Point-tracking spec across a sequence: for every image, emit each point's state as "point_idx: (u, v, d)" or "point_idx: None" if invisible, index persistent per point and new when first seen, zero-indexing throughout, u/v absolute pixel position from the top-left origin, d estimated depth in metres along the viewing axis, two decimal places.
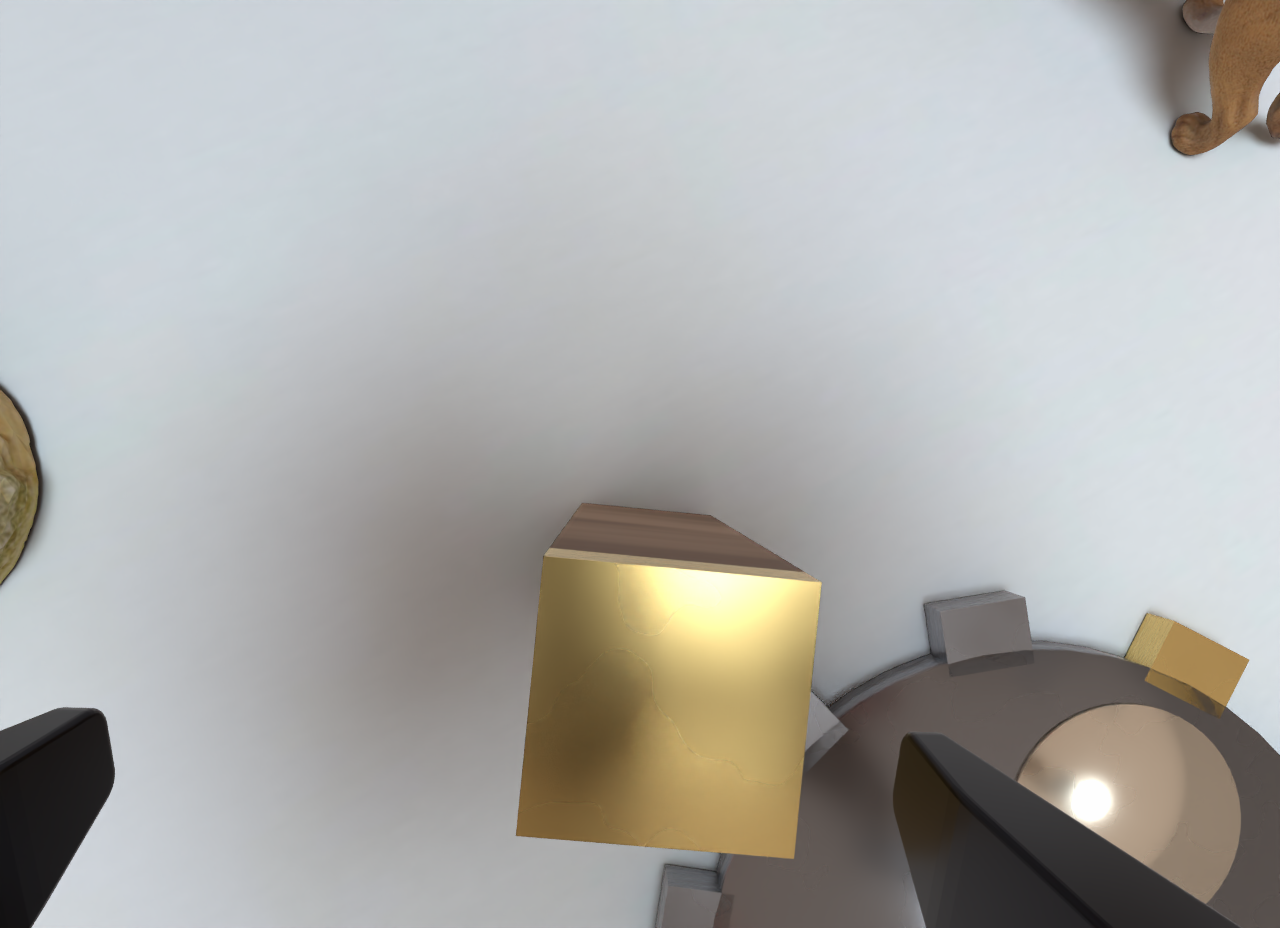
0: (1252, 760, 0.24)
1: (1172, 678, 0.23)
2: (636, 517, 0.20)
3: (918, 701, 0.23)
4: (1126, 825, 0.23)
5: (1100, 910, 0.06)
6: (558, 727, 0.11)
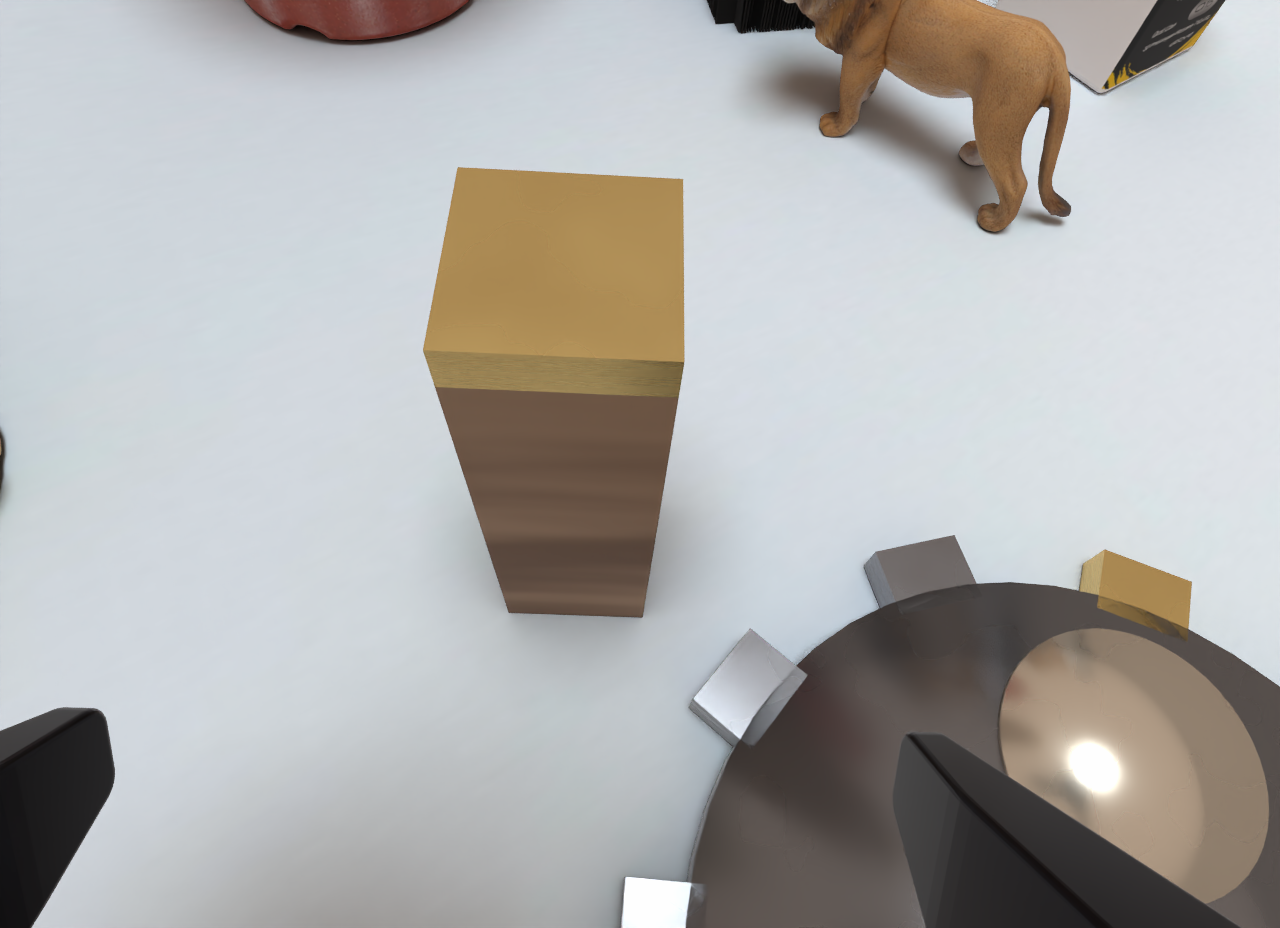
0: (1239, 683, 0.22)
1: (1124, 603, 0.23)
2: None
3: (874, 640, 0.22)
4: (1134, 760, 0.21)
5: (1099, 910, 0.06)
6: (465, 272, 0.13)
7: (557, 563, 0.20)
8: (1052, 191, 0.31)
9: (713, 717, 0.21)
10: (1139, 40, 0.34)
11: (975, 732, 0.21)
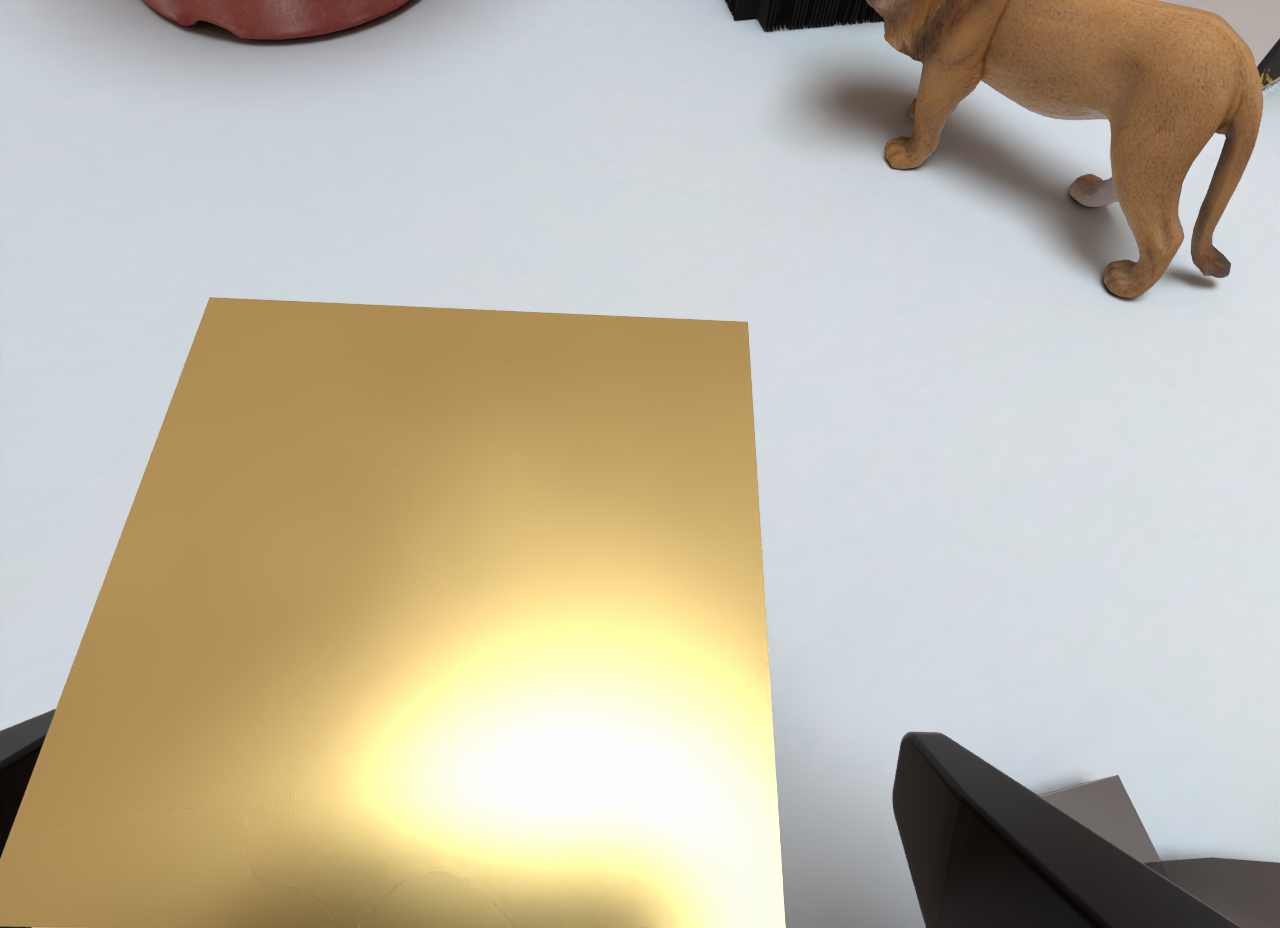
0: None
1: None
2: None
3: None
4: None
5: (1100, 910, 0.06)
6: (170, 614, 0.05)
7: None
8: (1211, 245, 0.23)
9: None
10: None
11: None
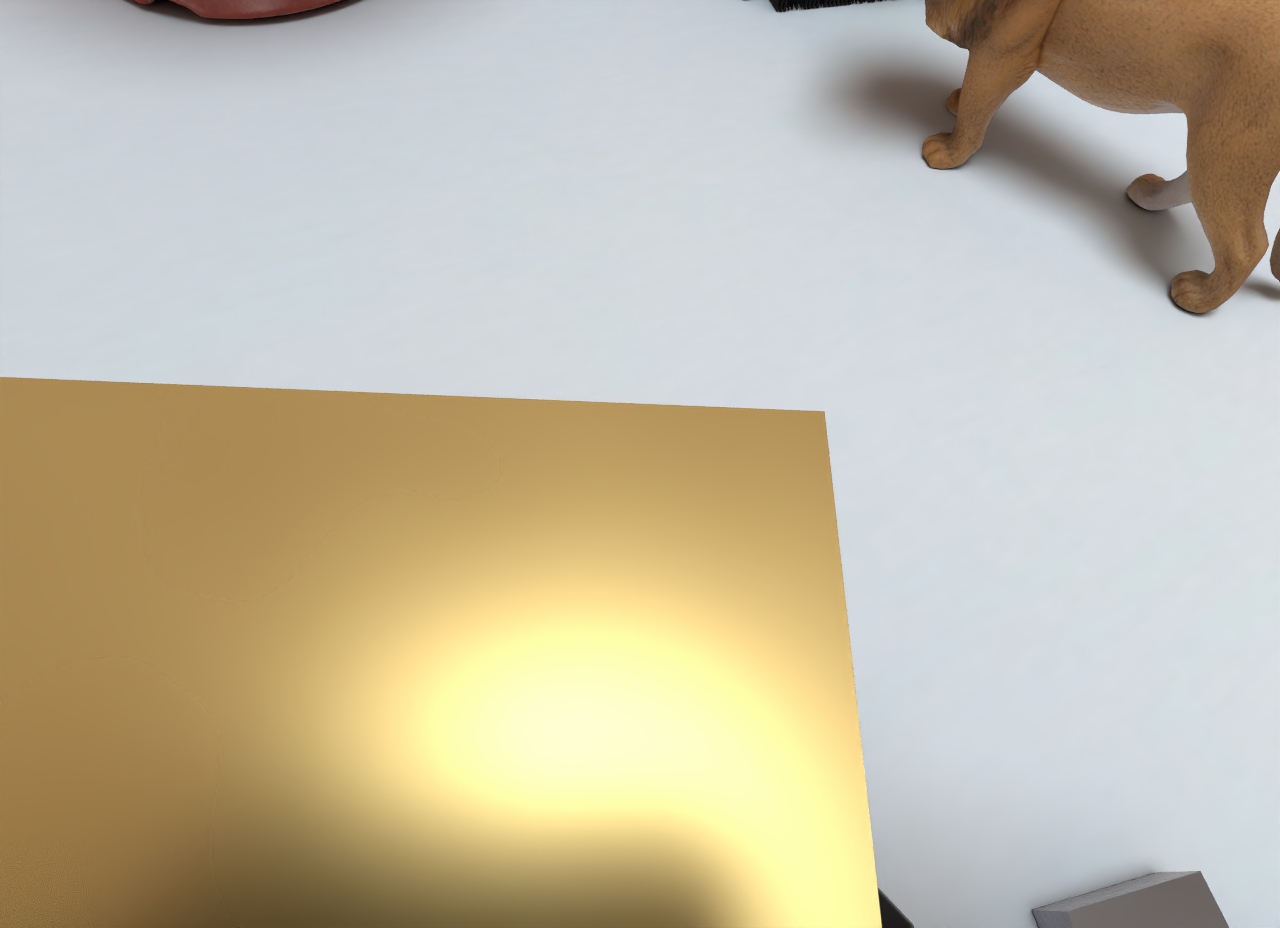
0: None
1: None
2: None
3: None
4: None
5: None
6: None
7: None
8: None
9: None
10: None
11: None
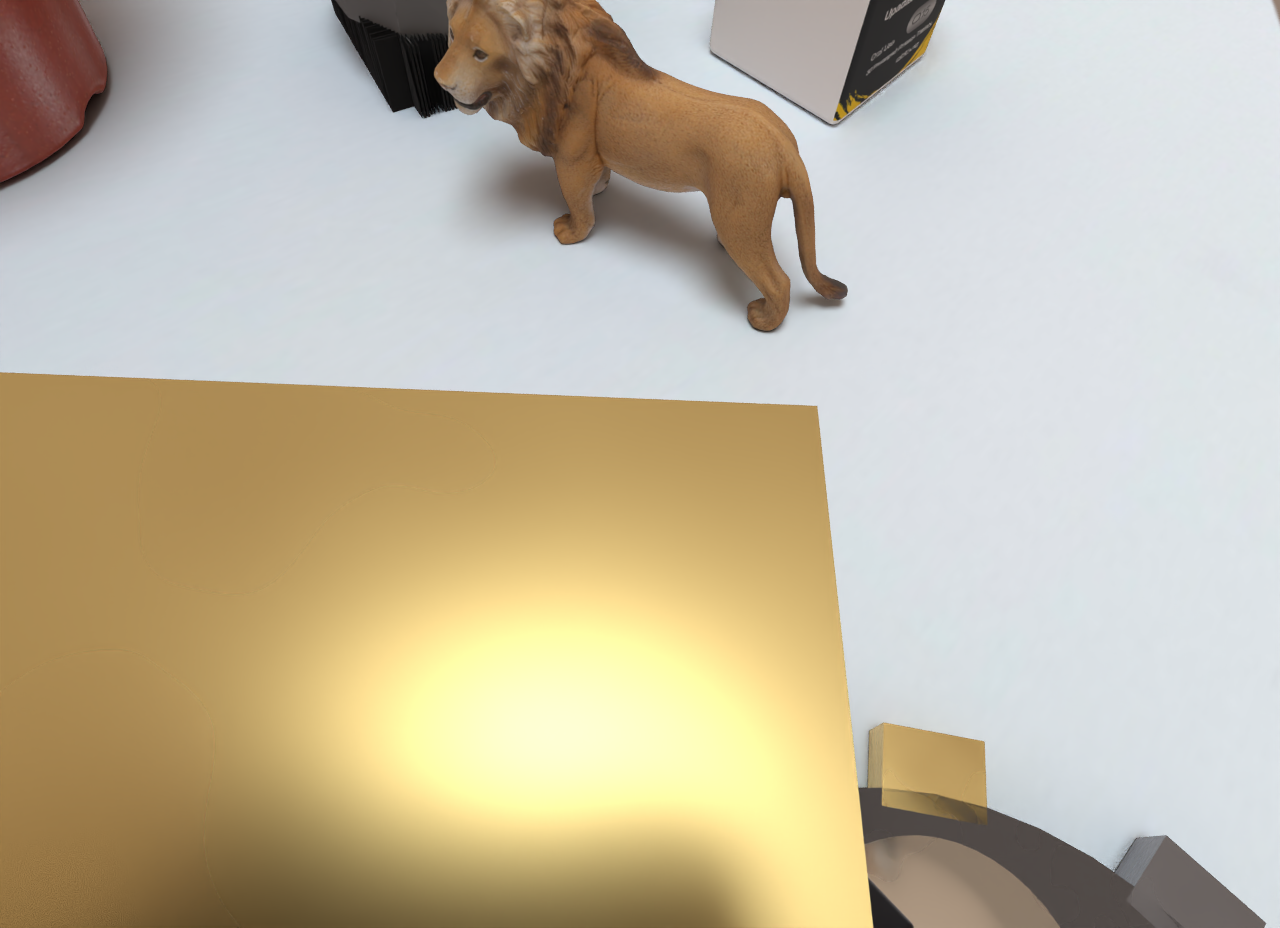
0: (1051, 867, 0.19)
1: (911, 792, 0.19)
2: None
3: None
4: None
5: None
6: None
7: None
8: (821, 277, 0.27)
9: None
10: (856, 67, 0.30)
11: None
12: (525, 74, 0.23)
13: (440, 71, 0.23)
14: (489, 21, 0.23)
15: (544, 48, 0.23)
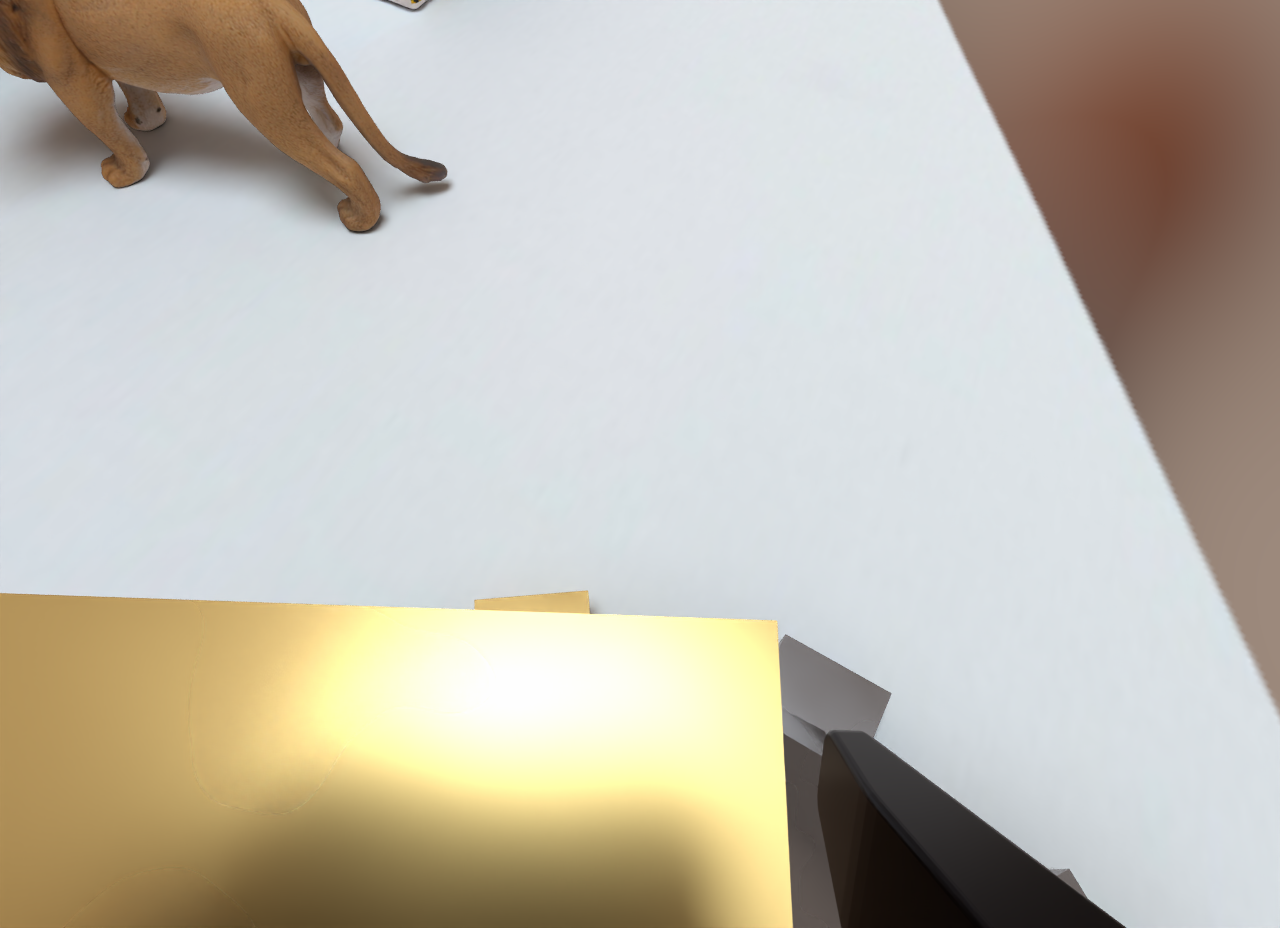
0: None
1: None
2: None
3: None
4: None
5: (982, 907, 0.06)
6: None
7: None
8: (403, 157, 0.24)
9: None
10: None
11: None
12: None
13: None
14: None
15: None
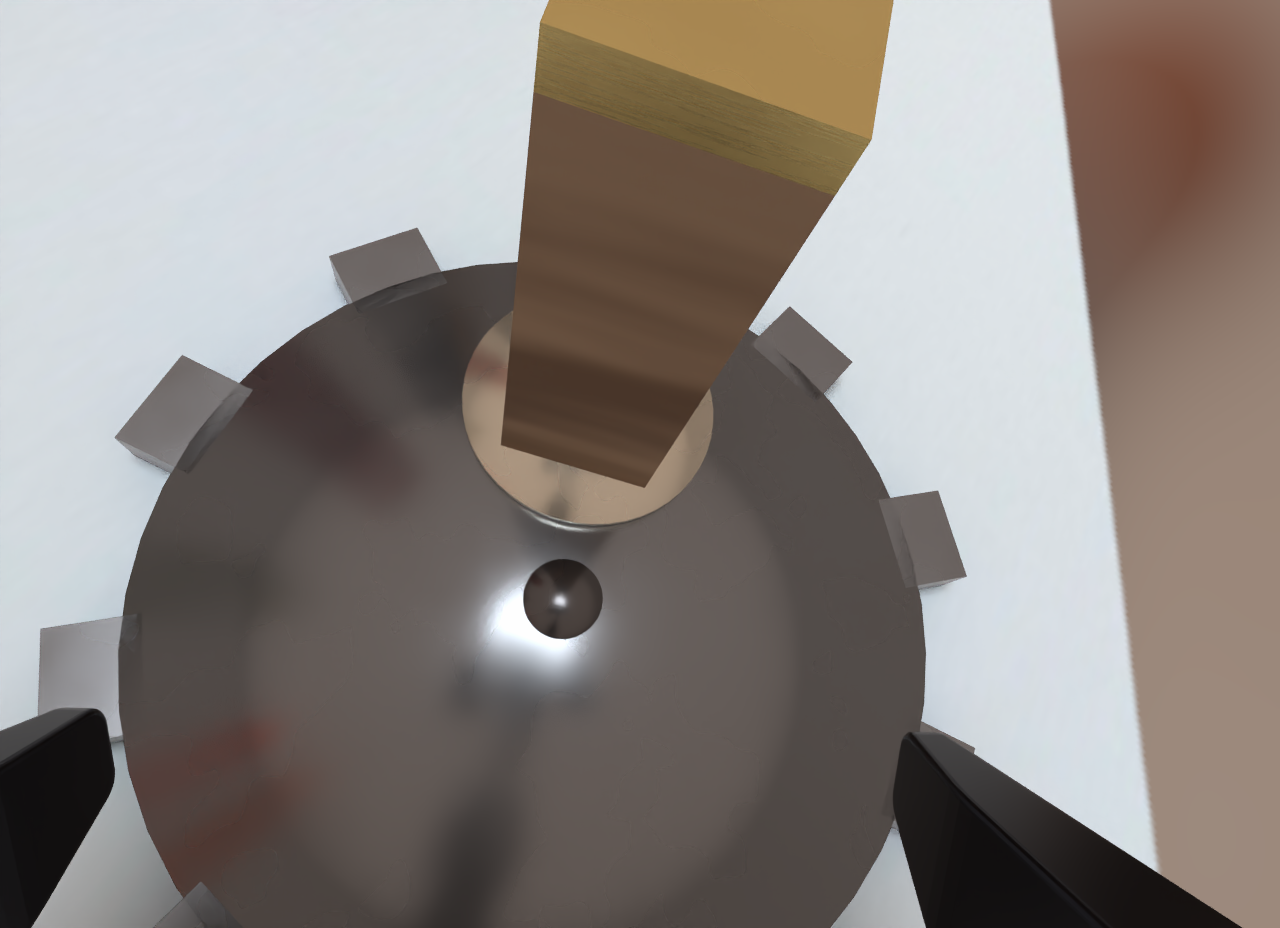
0: None
1: None
2: None
3: (329, 343, 0.21)
4: None
5: (1099, 910, 0.06)
6: None
7: (581, 396, 0.17)
8: None
9: (143, 452, 0.19)
10: None
11: (438, 410, 0.21)
12: None
13: None
14: None
15: None
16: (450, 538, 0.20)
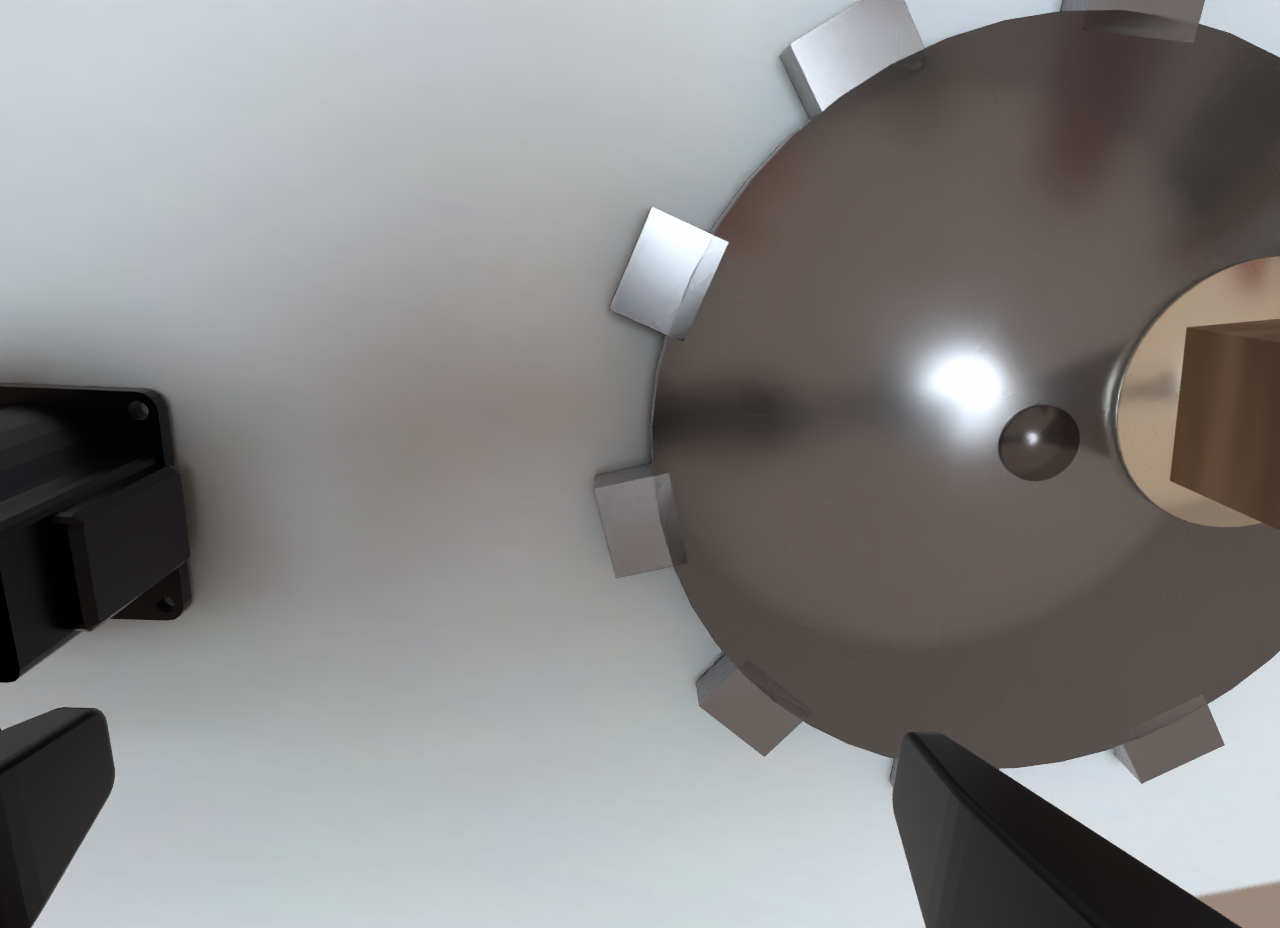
0: None
1: None
2: None
3: (1268, 95, 0.18)
4: None
5: (1099, 910, 0.06)
6: None
7: None
8: None
9: None
10: None
11: (1210, 247, 0.19)
12: None
13: None
14: None
15: None
16: (1073, 317, 0.19)
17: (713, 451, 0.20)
